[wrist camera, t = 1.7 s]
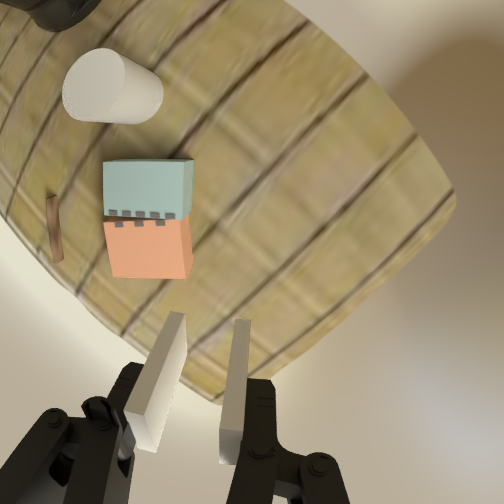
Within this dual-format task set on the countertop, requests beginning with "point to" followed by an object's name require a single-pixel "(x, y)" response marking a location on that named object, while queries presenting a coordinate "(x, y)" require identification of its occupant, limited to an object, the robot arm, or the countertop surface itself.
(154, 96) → the cup
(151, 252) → the stub
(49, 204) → the rail
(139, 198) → the pale teal block
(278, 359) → the countertop surface
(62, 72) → the countertop surface
